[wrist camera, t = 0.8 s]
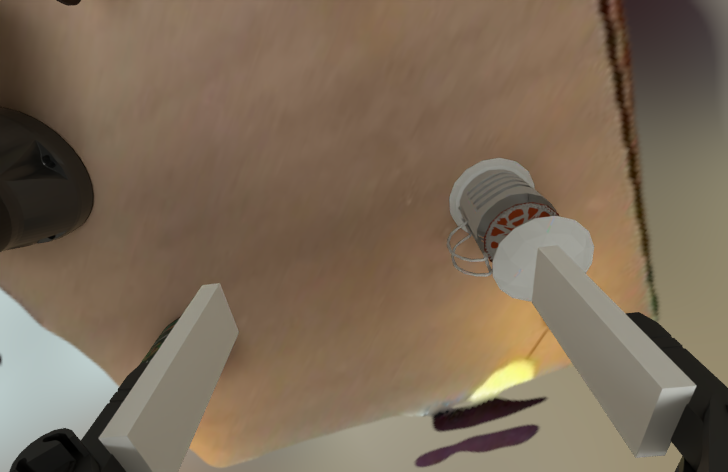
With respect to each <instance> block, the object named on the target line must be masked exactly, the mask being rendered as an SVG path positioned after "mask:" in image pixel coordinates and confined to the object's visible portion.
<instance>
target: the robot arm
mask: <svg viewBox="0 0 728 472" xmlns="http://www.w3.org/2000/svg"><path fill="white" fill-rule="evenodd" d="M92 202H93V193H92V186H91V182H90V179H89V176H88V174H87V172H86V170H85V168H84V166H83V164H82V162H81V161H80V159H79V158H78V156H77V155H76V153H75V152H74V151H73V150H72V148H71V147H70V146H69V145H68V144H67V143H66V142H65V141H64V140H63V139H62V138H61V137H60V136H59V135H57V134H56V133H55V132H54V131H53V130H51V129H50V128H49V127H47V126H46V125H44V124H42V123H41V122H39V121H37V120H36V119H34V118H32V117H30V116H28V115H25V114H23V113H20V112H17V111H14V110H10V109H6V108H0V252H2V251H5V250H10V249H15V248H20V247H25V246H29V245H33V244H36V243H44V242H49V241H53V240H56V239H58V238H61V237H63V236H65V235H66V234H68V233H70V232H71V231H73V230H75V229H76V228H78V227H79V226H81V225H82V224H83V223H84V222H85V220H86V219H87V218H88V216H89V214H90V211H91V208H92ZM532 303H533V305H534V306H535V308H536V309H537V311H538V312H539V314H540V315H541V317H542V318H543V320H544V321H545V323H546V324H547V326H548V327H549V329H550V330H551V332H552V333H553V335H554V336H555V338H556V339H557V341H558V342H559V344H560V345H561V347H562V348H563V350H564V351H565V353H566V354H567V356H568V357H569V359H570V360H571V362H572V363H573V365H574V366H575V368H576V369H577V371H578V372H579V374H580V375H581V377H582V378H583V380H584V381H585V383H586V384H587V386H588V387H589V389H590V390H591V392H592V393H593V395H594V396H595V398H596V399H597V401H598V402H599V403H600V405H601V407H602V408H603V410H604V411H605V413H606V414H607V416H608V417H609V419H610V420H611V422H612V423H613V425H614V426H615V428H616V429H617V431H618V432H619V434H620V435H621V437H622V438H623V440H624V441H625V443H626V444H627V445H628V447H629V449H630V450H631V452H632V453H633V455H634V456H635V457H637V458H638V457H650V456H664V455H665V454H666V452H667V450H668V448H669V446H670V443H671V442H672V443H673V444H674V445H675V447H676V448H677V449H678V450H679V452H680V453H681V454H682V455H683V456H682V458H681V460H680V462H679V464H678V466H677V468H676V470H675V472H728V388H727V387H726V386H725V385H724V384H723V383H722V382H721V381H720V380H719V379H718V378H717V377H715V376H714V375H713V374H712V373H711V372H710V371H709V370H708V369H707V368H706V367H705V366H704V365H702V364H701V363H700V362H699V361H698V360H697V359H696V358H695V357H694V356H693V355H692V354H691V353H690V352H689V351H687V350H686V349H683V347H682V345H681V344H680V343H679V342H678V341H677V340H675V338H672V337H671V335H670V334H669V333H668V332H667V331H666V330H665V329H664V328H663V327H662V326H661V325H660V324H658V323H657V322H656V321H654V320H652V319H650V318H648V317H647V316H645V315H643V314H641V313H639V312H636V313H626V314H625V313H624V312H623V311H622V310H621V309H620V308H619V307H618V306H617V305H616V304H615V303H614V302H613V301H612V300H611V299H610V298H609V297H608V296H607V295H606V294H605V293H604V292H603V291H602V290H601V289H600V288H599V287H598V286H597V285H596V284H595V283H594V282H593V281H592V280H591V279H590V278H589V277H588V276H587V275H586V274H585V273H584V272H583V271H582V270H581V268H580V267H579V266H578V265H577V264H576V263H575V262H574V261H573V260H572V259H571V258H570V257H569V256H568V255H567V254H566V253H565V252H564V251H563V250H562V249H561V248H560V247H559V246H558V245H555V246H546V247H538V250H537V259H536V267H535V276H534V285H533V294H532ZM238 334H239V331H238V328H237V326H236V323H235V321H234V318H233V315H232V313H231V310H230V308H229V305H228V303H227V300H226V298H225V295H224V293H223V290H222V287H221V285H220V283H217V284H208V285H202V286H201V288H200V289H199V291H198V292H197V294H196V295H195V297H194V298H193V300H192V301H191V303H190V304H189V305H188V307H187V308H186V310H185V311H184V313H183V314H182V316H181V317H180V319H179V320H178V322H177V323H176V325H175V326H174V328H173V329H172V331H171V332H170V333H169V335H168V336H167V338H166V339H165V341H164V342H163V344H162V345H161V347H160V348H159V350H158V351H157V353H156V354H155V356H154V357H153V359H152V360H151V361H150V362H147V363H141V364H140V365H139V366H138V367H137V368H136V369H135V370H133V371H132V372H131V373H130V374H129V375H128V376H127V377H126V379H125V380H124V381H123V383H122V384H121V386H120V387H119V388H118V392H116V393H115V394H114V395H113V397H112V398H111V400H110V403H109V404H107V405H106V407H105V408H104V409H103V411H102V412H101V413H100V415H99V416H98V418H97V419H96V420H95V422H94V423H93V425H92V426H91V427H90V429H89V430H88V432H87V433H86V434H85V436H84V437H83V439H82V440H81V441H80V440H79V439H78V437H77V436H76V435H75V434H74V432H73V431H72V430H69V429H66V428H63V429H58V430H54V431H51V432H50V433H47V434H45V435H43V436H41V437H40V438H38V439H37V440H35V441H34V442H32V443H31V444H30V445H29V446H28V447H26V449H24V450H23V451H22V452H21V453H20V454H19V456H18V457H17V458H16V460H15V461H14V462H13V464H12V466H11V469H10V472H178V471H179V469H180V467H181V464H182V462H183V460H184V457H185V455H186V453H187V451H188V448H189V446H190V444H191V442H192V439H193V437H194V435H195V432H196V430H197V428H198V425H199V423H200V421H201V419H202V416H203V414H204V412H205V409H206V407H207V405H208V402H209V400H210V398H211V396H212V393H213V391H214V389H215V386H216V384H217V382H218V380H219V377H220V375H221V373H222V370H223V368H224V366H225V363H226V361H227V359H228V357H229V354H230V352H231V350H232V347H233V345H234V343H235V341H236V338H237V336H238Z"/></svg>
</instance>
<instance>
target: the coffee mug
mask: <svg viewBox="0 0 728 472" xmlns="http://www.w3.org/2000/svg"><path fill="white" fill-rule="evenodd" d="M57 1H59V2H61V3H63V4H65V5H77V4H79V2H80V1H81V0H57Z"/></svg>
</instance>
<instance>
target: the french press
mask: <svg viewBox="0 0 728 472" xmlns="http://www.w3.org/2000/svg"><path fill="white" fill-rule="evenodd" d="M449 203H450V214H451V215H452V217H453V219H454V221H455V222H456V224H457V226H459V227H457V228H455V229H454V230H453V231H452V232H451V233H450V235H449V237H448V239H447V247H448V249H449V252H450V253H451V254H452V255H451V258H452V262H453V265H454V266H455V267H456V268H457V269H458V270H459V271H461V272H463V273H465V274H468V275H473V276H489V275H491V274H493V277H494V279H495V281H496V283H497V285H498V286H499V288H500V290H502V291H503V292H505V293H506V294H508V295H509V296H511V297H512V298H516V299H521V300H526V301H532V294H533V285H534V276H535V267H536V259H537V250H538V247H546V246H555V245H558V246H559V247H560V248H561V249H562V250H563V251H564V252H565V253H566V254H567V255H568V256H569V257H570V258H571V259H572V260H573V261H574V262H575V263H576V264H577V265H578V266H579V267H580V268H581V270H582V271H583V272H584V273H585V274H586V272H587V270H588V269H589V267H590V265H591V264H592V258H593V251H594V245H593V242H592V239H591V237H590V234H589V231H588V230H586V229H585V228H584V227H583V226H582V225H580V224H579V223H578V222H577V221H576V220H572V219H568V218H563V217H559V214H558V213H557V212H556V209H555V208H554V207H553V206H552V204H551V203H550V202H549V201H547V200H546V199H545V198H544V197H543V196H542V195H541V194H540V193H538V192H537V191H536V190H535V189H534V183H533V181H532V178H531V176H530V174H529V171H527V170H526V169H525V168H524V167H522V166H521V165H520V164H519V163H517V162H516V161H512V160H507V159H503V158H495V159H489V160H483V161H481V162H479V163H477V164H475V165H474V166H472V167H470V168H468V169H467V170H465V172H464V173H463V174H462V175H461V176H460V177H459V179H458V180H457V181H456V182H455V184H454V186H453V189H452V192H451V195H450V197H449ZM460 228H462V229H463V230H464V231H466V232H467V233H469V235H468V236H467V237H465V238H464V239H462V240H461V241H459V242H458V243H457V244H456V245H455V246H454V248H453V251H452V250H451V246H450V243H449V242H450V239H451V236H452V235H453V234H454V233H455V232H456V231H457V230H458V229H460ZM471 234H472V235H473V237H474V239H475V241H476V242H477V244H478V246H479V248H480V250H481V251H482V253H483V255H484V258H483V259H469V258H465V257H461V256H459V255H457V254H455V253H454V252H455V249H456V247H457V246H458V245H459V244H460V243H462V242H463V241H465V240H466V239H468V238H470V237H471ZM479 236H482V237H484V239H483V238H481V237H479ZM481 240H483V241H484V242H482V241H481ZM454 256H455V257H458V258H460V259H462V260H466V261H471V262H477V261H485V263H486V265H487V268H488V270H489V273H480V274H476V273H472V272H468V271H465V270H463V269H461V268H460V267H458V266H457V264H456V262H455V260H454ZM488 259H489V260H490V261H491V262H492V263H493V271H492V269H491V267H490V265H489V262H488Z"/></svg>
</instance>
